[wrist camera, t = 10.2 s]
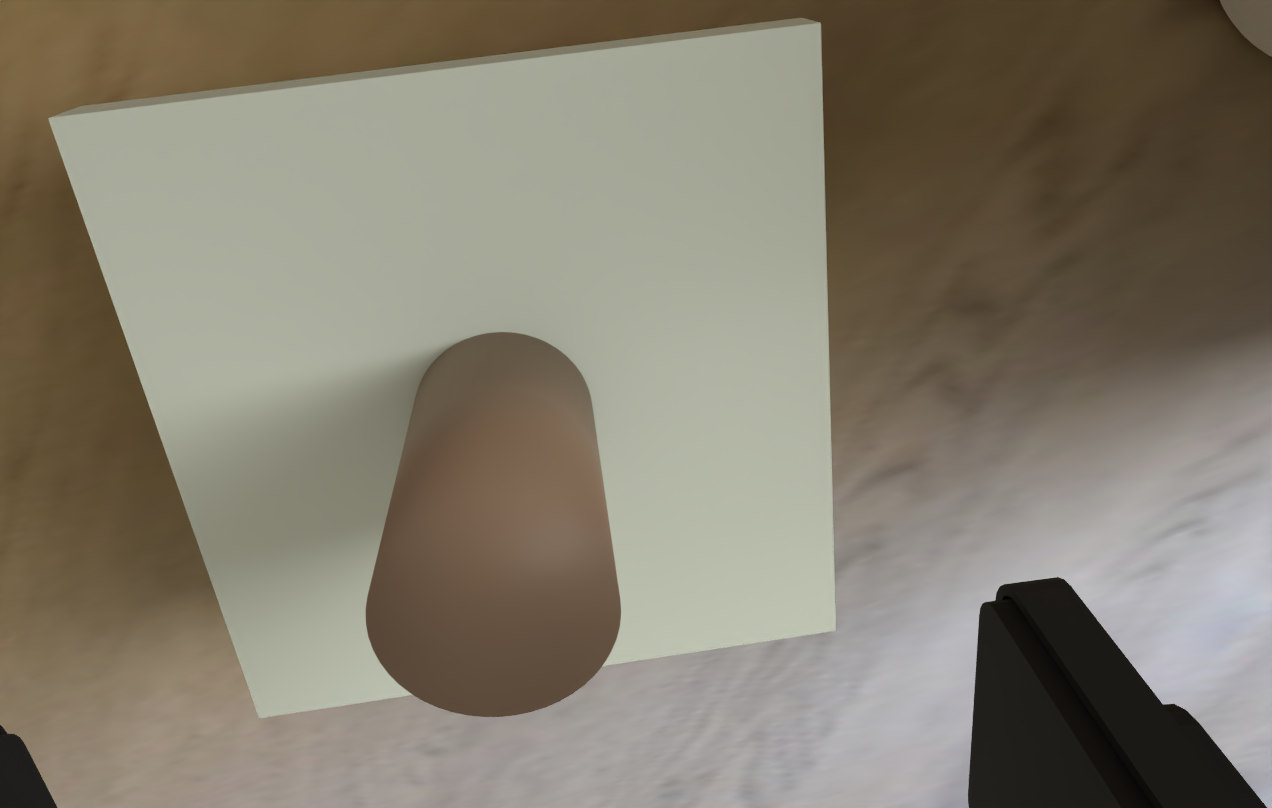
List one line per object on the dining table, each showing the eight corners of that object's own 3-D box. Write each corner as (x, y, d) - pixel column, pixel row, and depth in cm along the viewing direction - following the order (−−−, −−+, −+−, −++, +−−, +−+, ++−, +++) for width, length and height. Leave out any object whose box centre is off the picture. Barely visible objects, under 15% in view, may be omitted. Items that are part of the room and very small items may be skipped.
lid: (802, 17, 17) (976, 65, 10) (820, 596, 22) (944, 872, 15) (80, 106, 16) (-217, 216, 10) (272, 679, 21) (162, 1000, 15)
